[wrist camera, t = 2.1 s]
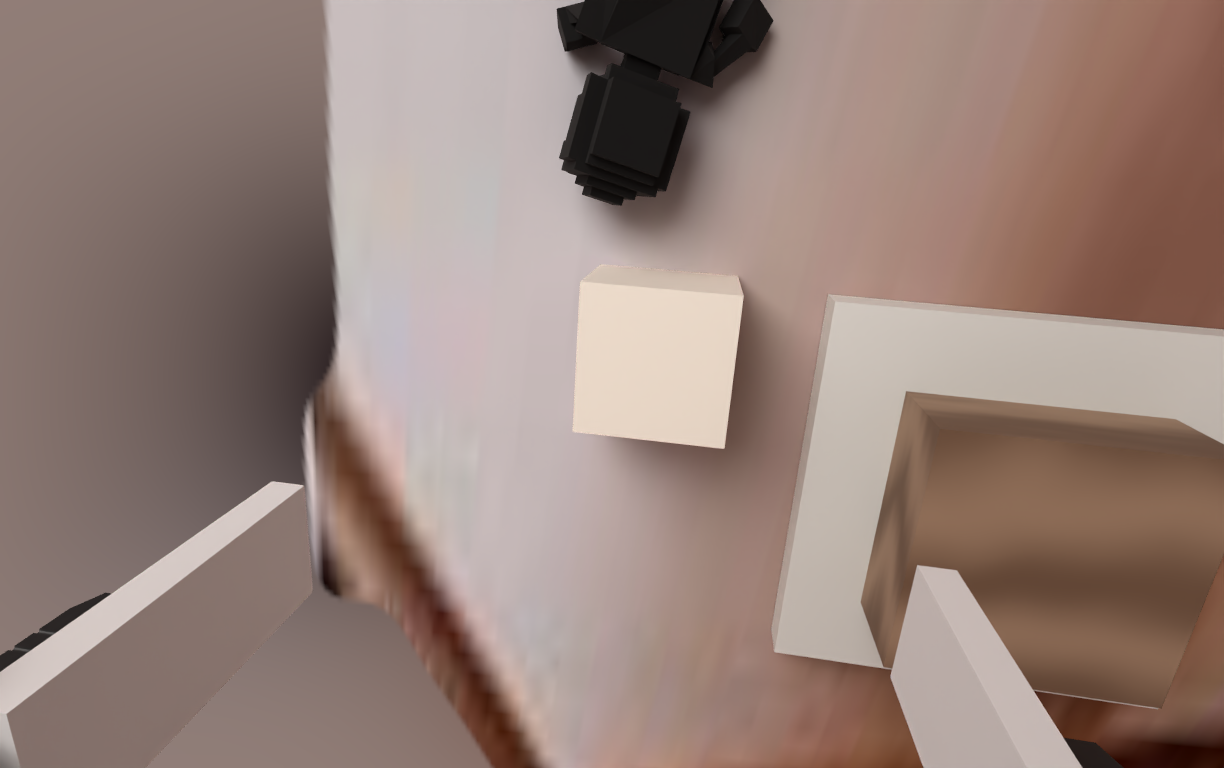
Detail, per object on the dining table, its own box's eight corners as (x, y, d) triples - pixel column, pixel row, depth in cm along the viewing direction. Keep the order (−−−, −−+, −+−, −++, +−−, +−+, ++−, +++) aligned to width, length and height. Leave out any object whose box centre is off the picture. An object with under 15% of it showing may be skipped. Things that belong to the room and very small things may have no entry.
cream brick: (601, 264, 34) (580, 281, 29) (737, 275, 34) (743, 295, 28) (593, 391, 37) (572, 431, 31) (721, 405, 36) (724, 448, 30)
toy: (505, 128, 33) (469, 120, 28) (679, -181, 28) (674, -258, 23) (638, 222, 33) (627, 231, 28) (831, -65, 29) (858, -116, 24)
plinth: (827, 294, 33) (835, 301, 31) (1268, 333, 31) (1305, 344, 29) (771, 629, 39) (774, 652, 37) (1134, 681, 37) (1157, 709, 35)
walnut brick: (906, 391, 32) (940, 428, 27) (1175, 419, 31) (1260, 463, 26) (860, 602, 36) (883, 667, 31) (1099, 635, 34) (1161, 708, 30)
